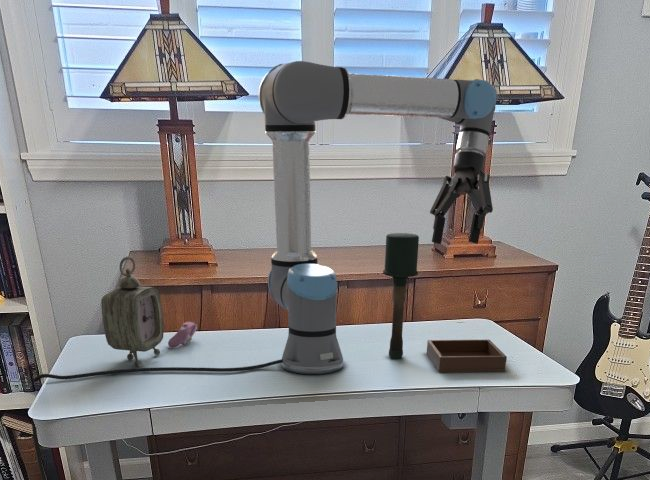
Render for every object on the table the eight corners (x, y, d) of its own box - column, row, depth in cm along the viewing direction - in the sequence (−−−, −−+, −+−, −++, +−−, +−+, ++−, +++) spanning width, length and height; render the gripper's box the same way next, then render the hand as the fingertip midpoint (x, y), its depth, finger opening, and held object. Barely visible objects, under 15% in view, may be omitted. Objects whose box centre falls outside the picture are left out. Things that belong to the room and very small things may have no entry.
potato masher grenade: (414, 354, 185) (423, 233, 170) (408, 363, 178) (417, 238, 163) (383, 351, 187) (388, 231, 172) (376, 360, 180) (381, 236, 165)
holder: (438, 372, 172) (440, 357, 170) (426, 354, 185) (427, 340, 184) (504, 371, 173) (506, 356, 171) (487, 353, 187) (489, 339, 185)
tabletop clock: (141, 370, 170) (127, 262, 158) (107, 367, 172) (91, 260, 160) (166, 353, 183) (156, 253, 171) (135, 351, 184) (122, 251, 172)
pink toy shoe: (181, 354, 188) (190, 331, 184) (165, 346, 187) (174, 323, 184) (193, 344, 196) (202, 322, 193) (178, 336, 196) (187, 314, 192)
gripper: (518, 153, 169) (500, 245, 174) (446, 163, 188) (431, 246, 193) (497, 144, 165) (479, 239, 170) (426, 155, 184) (411, 240, 189)
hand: (454, 243), depth 181 cm, fingers open, 13 cm apart
